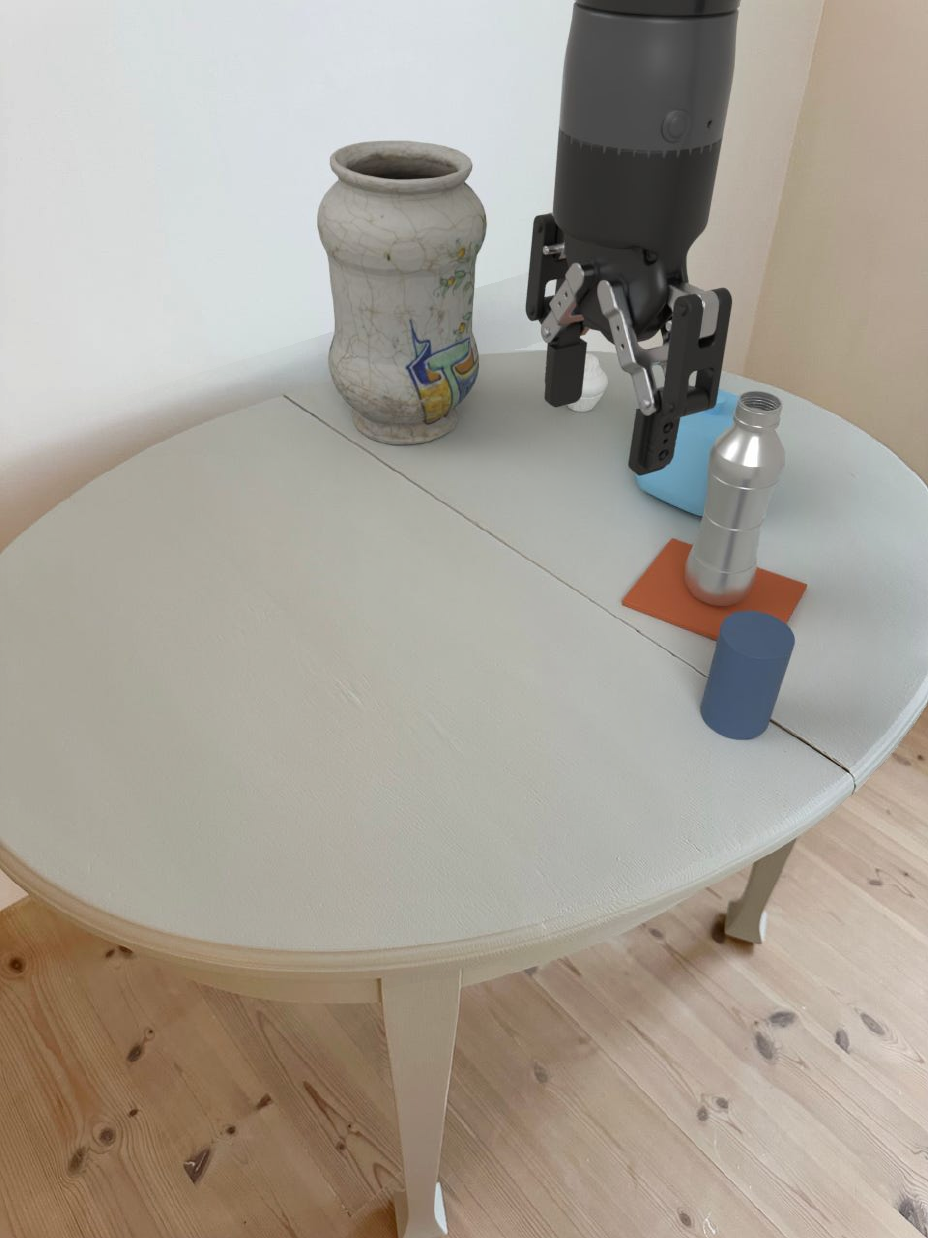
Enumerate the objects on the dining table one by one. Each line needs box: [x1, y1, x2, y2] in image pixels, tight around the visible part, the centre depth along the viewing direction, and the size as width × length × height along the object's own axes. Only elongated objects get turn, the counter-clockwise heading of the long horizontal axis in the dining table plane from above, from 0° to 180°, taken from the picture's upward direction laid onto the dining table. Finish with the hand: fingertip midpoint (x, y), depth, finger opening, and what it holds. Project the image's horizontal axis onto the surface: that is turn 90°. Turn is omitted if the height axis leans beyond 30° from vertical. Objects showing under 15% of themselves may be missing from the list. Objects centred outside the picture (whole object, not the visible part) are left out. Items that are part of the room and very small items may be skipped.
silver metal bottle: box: [685, 390, 786, 606], centre depth 84 cm, size 6×7×20 cm
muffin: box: [566, 352, 609, 413], centre depth 118 cm, size 6×6×7 cm
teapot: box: [634, 388, 740, 517], centre depth 103 cm, size 12×18×12 cm
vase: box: [316, 140, 488, 445], centre depth 107 cm, size 18×18×30 cm
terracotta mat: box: [621, 537, 808, 642], centre depth 91 cm, size 14×12×1 cm
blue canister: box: [699, 611, 796, 741], centre depth 76 cm, size 6×6×9 cm
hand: (602, 434), depth 54 cm, fingers open, 8 cm apart
